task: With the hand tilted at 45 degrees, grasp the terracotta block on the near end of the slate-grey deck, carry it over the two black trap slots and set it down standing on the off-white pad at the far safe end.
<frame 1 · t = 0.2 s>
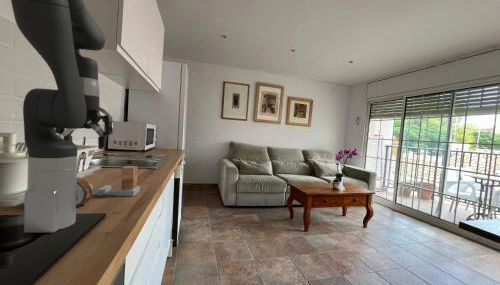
hand: (85, 148, 71), 18 cm above the table, tool pointing down, fingers open, 8 cm apart
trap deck: (104, 192, 87), on the table
tin: (66, 205, 73), on the table
block: (129, 188, 88), point 2 cm above the table, touching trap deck
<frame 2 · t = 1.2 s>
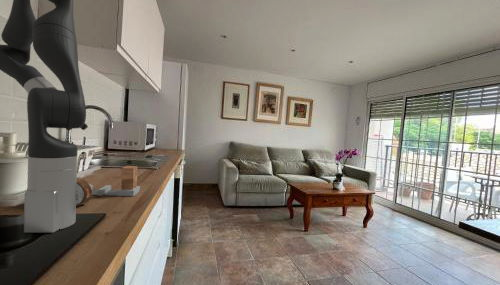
hand: (78, 128, 85), 23 cm above the table, tool tilted 45°, fingers open, 8 cm apart
nothing on the table moved.
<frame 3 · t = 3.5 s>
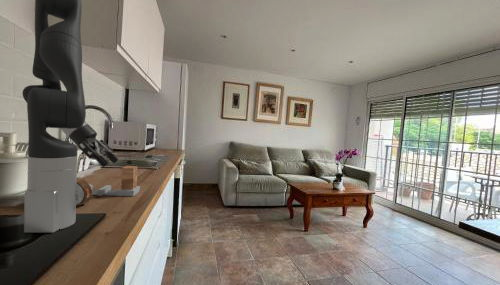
hand: (111, 163, 87), 11 cm above the table, tool tilted 45°, fingers open, 8 cm apart
nothing on the table moved.
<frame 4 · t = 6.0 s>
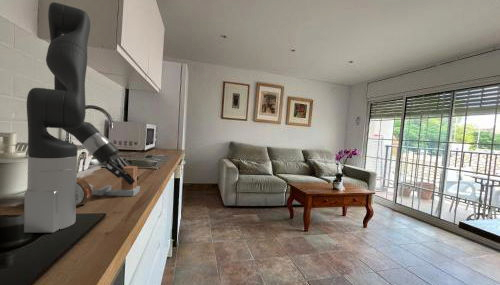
hand: (134, 181, 88), 5 cm above the table, tool tilted 45°, fingers closed on block, 4 cm apart
block: (129, 188, 88), point 2 cm above the table, touching gripper, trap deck
everything else where it was.
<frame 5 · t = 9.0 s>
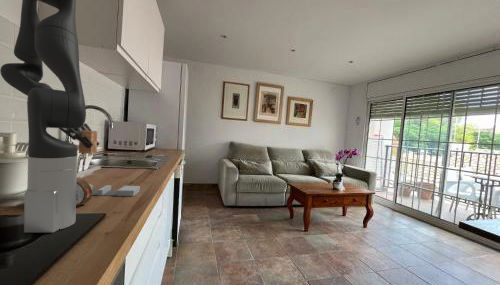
hand: (93, 146, 86), 17 cm above the table, tool tilted 45°, fingers closed on block, 4 cm apart
block: (87, 152, 86), point 15 cm above the table, touching gripper
everything else where it was.
when the fingers open (6 cm above the table, at t = 12.3 s): block drops 1 cm, resting on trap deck.
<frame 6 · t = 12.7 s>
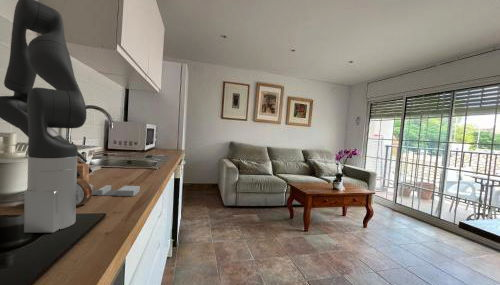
hand: (84, 174, 86), 7 cm above the table, tool tilted 45°, fingers open, 7 cm apart
block: (79, 186, 86), point 2 cm above the table, touching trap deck
everything else where it was.
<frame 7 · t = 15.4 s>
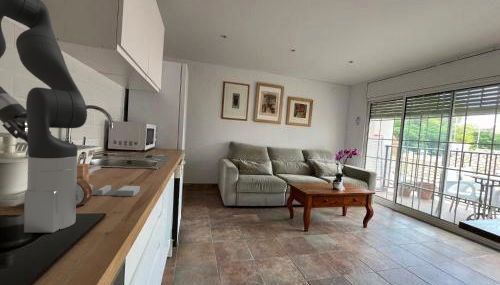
hand: (45, 144, 83), 17 cm above the table, tool tilted 45°, fingers open, 8 cm apart
nothing on the table moved.
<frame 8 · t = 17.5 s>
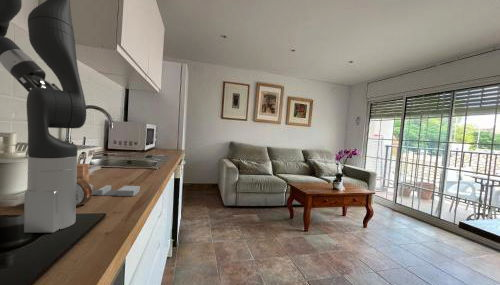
hand: (61, 106, 78), 31 cm above the table, tool tilted 45°, fingers open, 8 cm apart
nothing on the table moved.
at the end: block 0.1 cm from the target spot, point 2.3 cm above the table; block tilted 0°; the gripper is holding nothing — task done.
